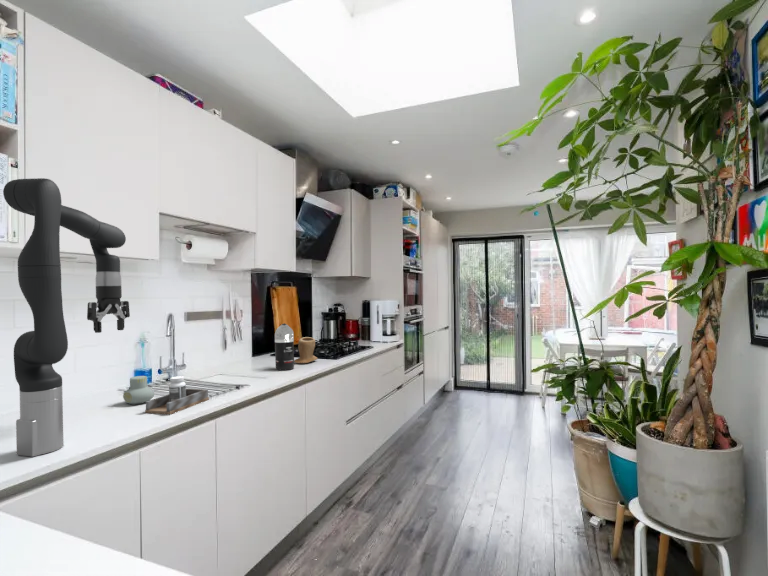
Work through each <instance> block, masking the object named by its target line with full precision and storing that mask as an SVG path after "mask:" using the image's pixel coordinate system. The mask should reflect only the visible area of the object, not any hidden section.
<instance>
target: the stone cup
mask: <svg viewBox="0 0 768 576" xmlns="http://www.w3.org/2000/svg"><path fill="white" fill-rule="evenodd" d="M297 347H298V353H299V357H298V358H296V359H294V363H296V364H309V363H311V362H313V361H316V360H318V359H319V358H318V357H317V356H315V355H314V351H315V349H316V339H315V338H314V337H309V336H305V337H304V336H303V337H301V338H299V340H298V346H297Z"/></svg>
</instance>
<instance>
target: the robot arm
mask: <svg viewBox="0 0 768 576" xmlns="http://www.w3.org/2000/svg"><path fill="white" fill-rule="evenodd" d="M2 192H3V193H2V194H3V198H4V200H5V202H6V203H7V205H8V206H9V207H11V208H12V209H13V210H15V211H17V212H20V213H23V214H25V215H29V216H33V217H34V224H33V229H32V232H31V235H30V236H29V239H28V240H27V241H26V242H25V244H24V246H23V247H22V249H21V251H20V253H19V256H18V258H17V277H18V285H19V288H20V290H21V292H22V294H23V296H24V299H25V300H26V302H27V304H28V306H29V307H30V310H31V312H32V316H33V317H32V318H33V330H31V331H30V330H29V331H26V332H24V333H22V334H20V335H19V337H18V338H17V339H16V341H15V343H14V345H13V365H14V376H15V381H16V382H17V383H18V386H19V389H18V390H19V418H18V419H16V421H15V429H16V431H15V432H16V436H15V437H16V455H17V456H24V457H32V458H33V457H36V456H39V455H44V454H49V453H52V452H55V451H57V450H60V449H62V448H63V447H64V443H65V441H64V408H63V407H64V406H63V377H62V375H61V374H59V373H58V372H57V371H56V370H55V369H54V367H53V365H55V364H57V363H59V362H61V361H62V360H63V359H64V358H65V356H66V354H67V352H68V349H69V348H68V346H69V341H68V334H67V328H66V323H65V316H64V310H63V308H64V307H63V293H62V267H61V266H62V264H61V257H60V255H61V253H60V252H61V251H60V249H61V248H60V231H61V230H60V228H61V227H62V228H64V229H67V230H69V231H71V232H72V233H75V234H77V235H79V236H81V238H82V237H83V238H84V239H88V240H89V244H90V247H91V250H92V254H93V256H94V259H95V271H96V272H95V273H96V274H95V298H96V302H95V301H91V302H90V301H89V302H88V303H87V313H86V314H87V315H86V319H87V321H92V323H93V331H94V333H96V334H98V333H102V332H103V331H102V319H103V318H105V316H106V315H110V314H111V315H114V316H115V317H116V318H117V320H116V330H117V331H123V330H124V329H125V320H126V319H127V318H130V317H131V316H130V302H129V301H128V300H122V301H121V298H122V276H121V275H122V274H121V259H120V256H118V255H115V254H110V253H109V251H108V249H118V248H121V247H123V246H124V245H125V243H126V240H127V239H126V234H125V233H124V232H123V230H122V229H120V228H119V227H117V226H115V225H112V224H110V223H106V222H102V221H99V220H98V219H97V218H95V217H93V216H92V215H90V214H88V213H86V212H84V211H82V210H79V209H76V208H73V207H69V206H66V205H64V204H63V205H62V195H61V191H60V188H59V186H58V185H57V184H56V183H55V181H53V180H52V179H50V178H42V177H41V178H18V179H13V180H10V181H8V182H6V183H5V185H4V187H3V190H2Z"/></svg>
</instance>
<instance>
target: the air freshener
mask: <svg viewBox="0 0 768 576" xmlns="http://www.w3.org/2000/svg"><path fill="white" fill-rule="evenodd" d="M122 397H123V401H124V402H125V403H127V404H129V405H140V404H146V402H147V401H150V400H153V399H154V397H155V391H154V389H153V388H152V387H150V386H148V376H147V375H137V376H136V375H135V376H132V377H130V379H129V388H128V389H127V390H126V391H124V392H123V395H122Z"/></svg>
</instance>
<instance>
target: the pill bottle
mask: <svg viewBox="0 0 768 576" xmlns="http://www.w3.org/2000/svg"><path fill="white" fill-rule="evenodd" d="M184 380H185V376H183V375H182V376H180V375H179V376H177V375H176V376H172V377H170V379H169V382H170V384H169V385H168V394H169V401H170V402H171V401H174V400H177V399H180V398H183V397H186V389H187V384H186V382H185V381H184Z"/></svg>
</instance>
